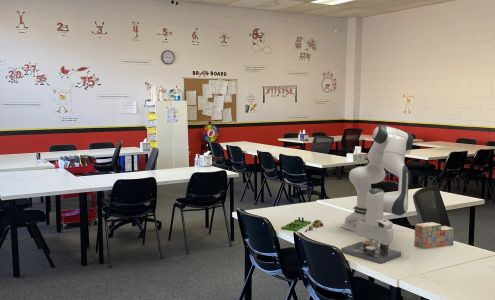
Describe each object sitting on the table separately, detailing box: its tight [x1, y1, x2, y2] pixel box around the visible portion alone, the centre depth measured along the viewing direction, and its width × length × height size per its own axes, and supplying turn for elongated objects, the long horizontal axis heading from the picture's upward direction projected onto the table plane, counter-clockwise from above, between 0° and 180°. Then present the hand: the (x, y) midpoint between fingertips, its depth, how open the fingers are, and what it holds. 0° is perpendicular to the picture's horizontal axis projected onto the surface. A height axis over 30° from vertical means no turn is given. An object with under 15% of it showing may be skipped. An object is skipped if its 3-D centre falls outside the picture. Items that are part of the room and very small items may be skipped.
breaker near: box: [366, 246, 376, 255], centre depth 239 cm, size 4×4×3 cm
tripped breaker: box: [362, 240, 370, 249], centre depth 247 cm, size 4×4×3 cm
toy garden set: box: [281, 216, 324, 233], centre depth 298 cm, size 23×19×5 cm
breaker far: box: [378, 241, 390, 250], centre depth 247 cm, size 4×4×3 cm
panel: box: [340, 241, 402, 265], centre depth 246 cm, size 24×18×2 cm
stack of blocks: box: [413, 221, 455, 250], centre depth 261 cm, size 21×6×12 cm, turn 111°
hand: (373, 247), depth 245 cm, fingers closed
